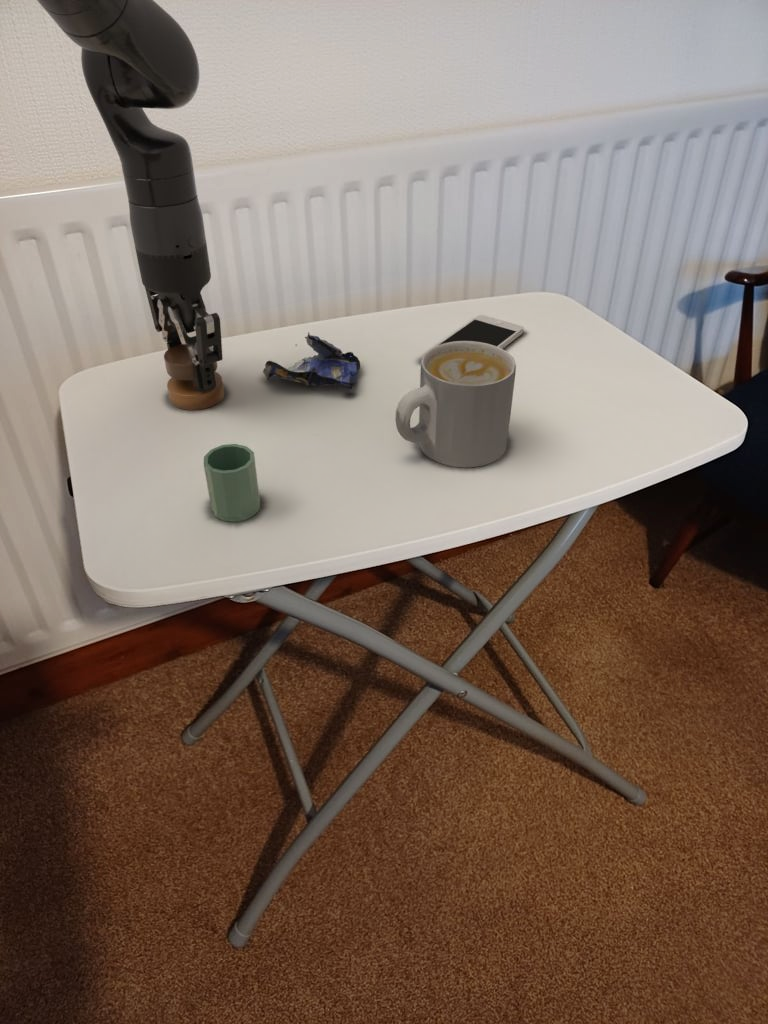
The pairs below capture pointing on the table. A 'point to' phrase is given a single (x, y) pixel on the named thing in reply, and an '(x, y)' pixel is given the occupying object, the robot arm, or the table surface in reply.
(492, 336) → the smartphone
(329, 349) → the snack package
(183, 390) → the oak chip
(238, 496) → the plastic cup
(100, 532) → the table surface
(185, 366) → the walnut chip
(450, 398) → the coffee mug
